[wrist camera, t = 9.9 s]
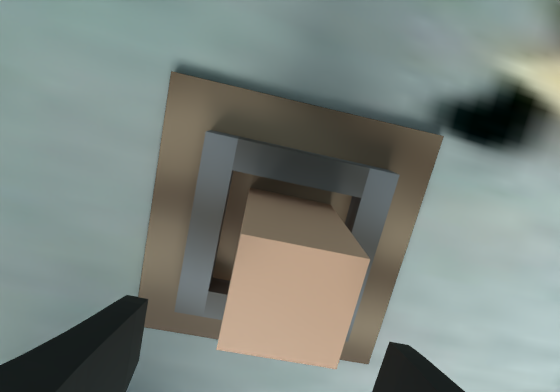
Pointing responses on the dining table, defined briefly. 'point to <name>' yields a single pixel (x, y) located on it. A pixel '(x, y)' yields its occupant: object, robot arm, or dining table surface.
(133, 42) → the dining table surface
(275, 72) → the dining table surface
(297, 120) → the socket board
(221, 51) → the dining table surface
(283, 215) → the beige upright block
